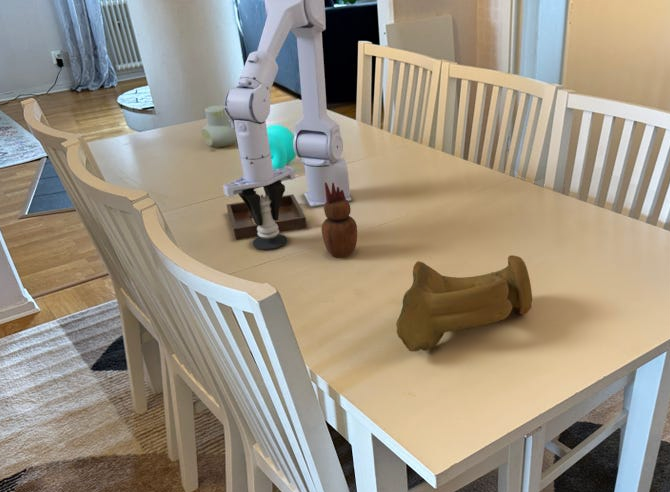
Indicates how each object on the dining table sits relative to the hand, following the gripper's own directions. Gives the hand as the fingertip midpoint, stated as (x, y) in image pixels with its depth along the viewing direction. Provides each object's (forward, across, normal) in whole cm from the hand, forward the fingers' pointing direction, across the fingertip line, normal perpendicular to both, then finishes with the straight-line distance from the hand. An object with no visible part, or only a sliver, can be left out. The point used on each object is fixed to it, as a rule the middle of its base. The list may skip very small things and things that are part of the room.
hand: (266, 221), depth 137 cm
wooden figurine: (+5, -8, +14) cm, 17 cm away
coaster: (+5, 0, 0) cm, 5 cm away
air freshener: (+5, -22, -66) cm, 70 cm away
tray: (+5, -5, -10) cm, 12 cm away
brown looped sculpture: (+5, -8, +50) cm, 51 cm away
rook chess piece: (+3, 0, 0) cm, 3 cm away
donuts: (+5, -23, -38) cm, 45 cm away
